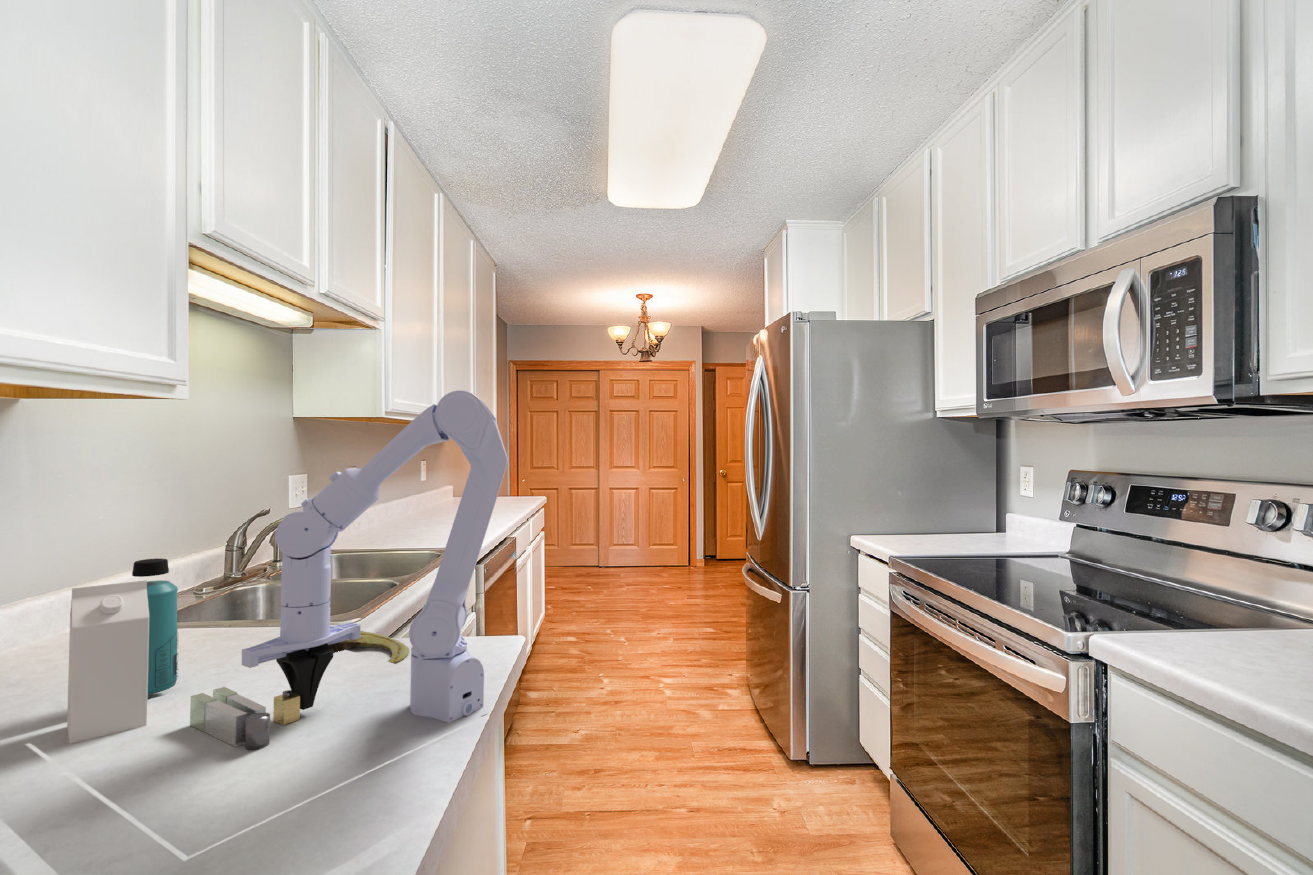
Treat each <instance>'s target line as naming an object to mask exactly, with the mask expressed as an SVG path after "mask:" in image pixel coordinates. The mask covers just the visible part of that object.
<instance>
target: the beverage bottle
mask: <svg viewBox="0 0 1313 875" xmlns="http://www.w3.org/2000/svg"><path fill="white" fill-rule="evenodd" d="M169 570H170V568H169V560H168V559H167V558H147V559H140V560H136V561H134V563H133V568H132V570H131V576H132V577H137V578H138V577H139V578H142V577H143V578H144V577H155V576H162V575H166V574H167V575H168V574H169V572H170V571H169ZM178 591H179V588H178V586H176V585H175V584H174V583H172V582H171V581H170V580H150V581H148V580H147V597H148V607H149V654H148V695H153V694H158V693H161V692H165V691H166V690H170V689H172V688H173V687H174V686H176V683H177V680H178V677H179V674H178V671H179V668H178V665H179V659H178V656H179V653H178V650H179V647H180V646H179V632H178V624H179V623H180V622H179V618H178Z"/></svg>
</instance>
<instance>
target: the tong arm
mask: <svg viewBox="0 0 1313 875" xmlns="http://www.w3.org/2000/svg"><path fill="white" fill-rule="evenodd" d="M212 697H213V698H216V699H217V700H218V701H220V702H222V703H225V704H227V705H229V706H232V707H234V708H236V709H239V710H241V711H243V712H246V713H247V717H248V716H250V715H252V714H256V713H262V712H266V711H267V710H266V708H267V707H266V706H264V705H262V704H259V703H258V702H255V701H253V700H251V699H249V698H248V697H247V698H246V697H245V696H243V695H241V694H240V693H238V692H237V691H235V690H233V689H230V688H229V687H228V688H227V687H225V686H221V687H218V688H215V689H213V690H212ZM266 713H267V712H266Z"/></svg>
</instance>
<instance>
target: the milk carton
mask: <svg viewBox="0 0 1313 875" xmlns="http://www.w3.org/2000/svg"><path fill="white" fill-rule="evenodd" d="M147 581H148V580H147V579H146V580H135V581H127V582H118V583H110V584H108V583H107V584H101V585H99V584H98V585H89V586H79V587H73V588H71V601H70V614H69V639H68V640H69V641H68V644H69V646H68V684H67V721H66V722H67V723H66V726H67V727H66V729H67V736H68V744H73V743H74V744H75V743H77V742H78V743H79V742H82V741H86V740H91V739H95V738H96V739H97V738H99V737H104V736H108V735H112V734H116V733H120V732H125V731H130V730H133V729H134V730H135V729H138V728H141V727H142V728H143V727H146V726H147V725H148V696H149V694H148V654H149V607H148V597H147Z"/></svg>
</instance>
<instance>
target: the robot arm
mask: <svg viewBox="0 0 1313 875" xmlns="http://www.w3.org/2000/svg"><path fill="white" fill-rule="evenodd" d="M450 439H451V440H452V441H453V442H455V443H456V445H457V446H459V448H460V450H461V452H462V453H463V455H464V456H465V459H467V461H468V463H469V464H470V470H469V473H468V477H467V480H466V482H465V486H464V489H463V491H462V492H463V493H462V495H461V498H460V501H459V504H458V508H457V511H456V512H455V513H456V514H455V517H454V520H453V523H452V527H451V529H450V533H449V534H448V535H449V537H448V538H447V542H446V545H445V547H444V551H443V554H442V558H441V560H440V564H439V566H438V569H437V573H436V576H435V579H434V582H433V584H432V586H431V588H430V591H429V593H428V596H427V599H426V602H425V603H424V604H423V607H422V610H421V611H420V612H419V613H418V614H417V615H416V616H415V618H414V619H413V620H412V622H411V624H410V626H409V632H408V634H409V635H408V637H409V642H410V644H411V646H412V647H411V649H410V653H411V654H410V687H409V688H410V693H409V695H410V698H409V700H410V701H409V703H410V704H409V710H410V712H411V713H412V714H413V715H416V716H419V717H428V718H432V719H435V720H439V721H441V722H445V723H452V722H455V721H456V720H458V719H461V718H463V717H464V716H467V717H468V716H470V715H471V714H472V713H473V712H476V711H479V710H480V709H482V708H484V698H485V697H484V696H485V694H484V693H485V690H484V688H485V687H484V686H485V684H484V683H485V680H484V679H485V670H484V666H483V664H482V662H481V661H480V660H479V659H478V658H476V657H474V656H473V655H472V654H470V652H469V649H468V642H467V640H465V638H464V637H463V635H462V633H461V632H462V630H463V627H464V626H465V625H466V622H467V618H468V610H467V606H466V601H467V596H468V593H469V589H470V585H471V581H472V578H473V576H474V571H475V569H476V565H477V562H478V560H479V555H480V553H481V550H482V548H483V544H484V540H485V537H486V534H487V531H488V527H489V524H490V522H491V518H492V516H493V512H494V508H495V505H496V502H497V500H498V496H499V494H500V490H501V486H502V483H503V480H504V476H505V473H506V471H507V468H508V463H509V458H508V455H507V452H506V448H505V445H504V442H503V438H502V435H501V432H500V429H499V424H498V421H497V419H496V417H495V416H494V414H493V413H492V412H491V410H490V409H489V407H488V406H487V405H486V404H485V402H484V401H483V400H482V399H480V398H479V397H478V396H477V395H476V394H474V393H472V392H470V391H467V390H461V389H459V390H454V391H451V392H448V393H446V394H445V395H444V396H442V397H441V399H440V400H439V401H438V403H437V404H435V403H433V404H432V405H430V406H428V407H426V409H425V410H423V411H422V412H421V413H420V414H418V415H417V416H416V417H415V418H414V419H412V420H411V421H410V422H409V423H408V424H407V425H406V426H405V427H404V428H403V429H402V430H401V431H400V432H399V433H397V434H396V436H394V438H392V440H390V441H389V442H388V443H387V444H386V445H385V446H384V447H382V448H381V450H380V451H379V452H377V454H375V455H374V456H373V457H372V458H371V459H370V460H369V461H368V462H367V463H366V464H364V466H362V467H361V468H357V467H356V468H353V467H349V468H345V470H344V471H342V472H341V471H335V472H333V473H332V474H331V475H330V476H329V477H328V479H329V481H330V482H329V483H328V485H326V486H325V487H324V488H322V490H320V491H319V492H318V493H317V494H316V495H315V496H313V498H305V499H304V500H303V501H302V502H301V503H300V505H301V507H302V510H298V511H295V512H291V513H288V514H286V515H284V517H283V519H282V520H281V521H280V522H279V524H278V526H277V527H276V529H275V533H274V540H275V544H276V547H277V548H278V549H279V551H280V552H281V570H280V571H281V573H280V574H281V575H280V576H281V579H280V581H281V582H280V620H279V622H280V627H279V636H278V637H276V638H275V637H274V638H273V639H269V640H267V641H265V642H262V643H259V644H256V645H253V646H250V647H247V648H242V649H241V665H242V666H243V667H246V668H249V669H251V668H255V667H258V666H259V664H262V663H266V662H270V661H274V660H276V663H277V665H278V666H279V667H280V669H281V670H282V672H283V674H284V676H285V678H286V680H287V683H288V685H289V689H290V690H291V691H292V693H294V694H296V695H299V696H300V710H302V711H305V710H307V709H308V710H309V709H311V708H313V706H314V702H315V700H316V695H317V692H318V690H319V687H320V683H321V680H322V678H323V676H324V674H325V672H326V670H327V668H328V666H329V664H330V662H331V661H332V660H333V658H334V653H333V649H330V648H328V645H330V644H334V643H338V642H341V641H345V640H349V639H352V640H354V639H358V638H360V631H361V624H359V623H355V622H349V623H343V624H337V625H331V591H332V590H331V588H332V587H331V584H332V583H331V582H332V580H331V578H332V565H331V562H332V561H331V557H332V556H331V553H332V548H331V547H332V545H334V544H335V542H336V540H337V538H338V535H339V533H340V532H344V531H345V529H347V528H348V527H349V526H350V525H351V524H352V523H354V522H355V521H356V520H357V519H358V518H359V517H361V516H362V515H363V513H365V511H367V510H368V509H369V508H371V507H372V506H373V505H374V504H375V503H376V502H377V501H379V499H380V488H381V484H383V483H384V482H385V481H386V480H387V479H389V478H390V477H391V476H392V475H394V474H395V472H398V470H399V469H401V468H402V467H403V466H404V465H406V464H407V463H408V462H409V461H410V460H411V459H413V458H414V457H415V456H417V454H419V453H420V452H422V450H424V449H426V447H428V446H433V445H436V444H441V443H444V442H449V441H450ZM487 715H489V713H486V714H483V715H481V716H480V717H481V718H483V717H485V716H487Z"/></svg>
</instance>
